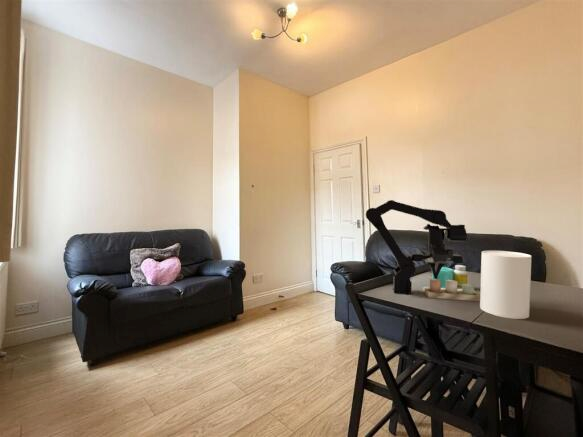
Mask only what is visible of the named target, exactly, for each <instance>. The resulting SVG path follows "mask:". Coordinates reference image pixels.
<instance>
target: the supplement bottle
mask: <svg viewBox="0 0 583 437" xmlns="http://www.w3.org/2000/svg"><path fill="white" fill-rule="evenodd" d="M466 268H467V267H466V265H461V264H456V265H455V266H454V269H453V280H454V281H457V289H462V285H463V284H468V272H467V270H466Z"/></svg>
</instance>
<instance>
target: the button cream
mask: <svg viewBox="0 0 583 437" xmlns="http://www.w3.org/2000/svg"><path fill="white" fill-rule="evenodd" d="M457 289H458V288H457V281H454V280H446V291H448V292H453V293H455V292H457Z"/></svg>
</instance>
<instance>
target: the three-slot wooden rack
mask: <svg viewBox="0 0 583 437" xmlns="http://www.w3.org/2000/svg"><path fill="white" fill-rule="evenodd" d="M422 291H423V292H424V293H425V295H426V296H427V297H428V298H431V299H443V300H446V299H447V300H460V301H474V302H480V293H478V292H477V291H475V290H474V295H466V294H462V289H458V288H457V292H455V293H453V292H448V291H446V288H441V291H432V290H430V286H423V290H422Z"/></svg>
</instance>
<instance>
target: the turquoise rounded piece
mask: <svg viewBox="0 0 583 437" xmlns="http://www.w3.org/2000/svg"><path fill="white" fill-rule="evenodd" d="M453 271H454V269H452V268H450V267H447V266H443V267H442V268H441V270H440V272H439V274H438V277H437V280H441V288H446V280H453ZM431 274H432V273H431ZM431 279H434V277H433V274H432V275H431Z"/></svg>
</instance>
